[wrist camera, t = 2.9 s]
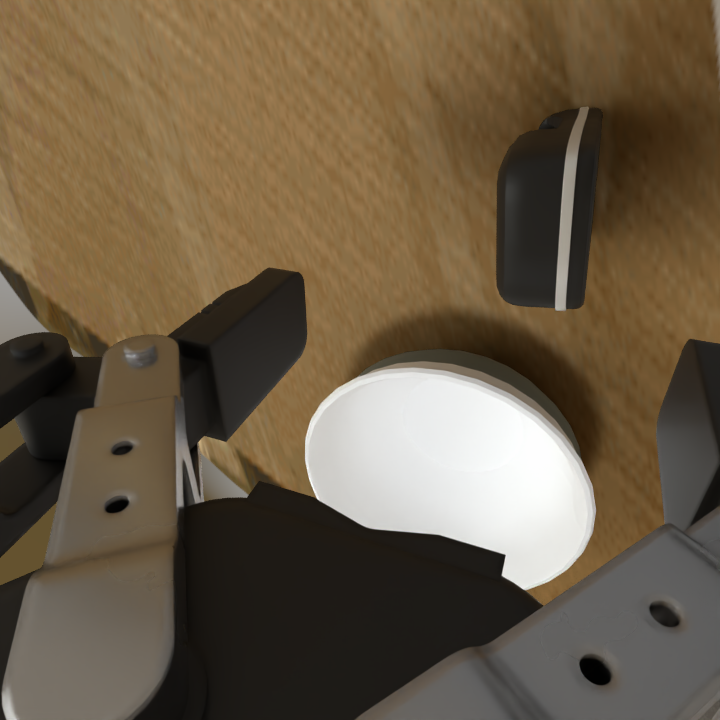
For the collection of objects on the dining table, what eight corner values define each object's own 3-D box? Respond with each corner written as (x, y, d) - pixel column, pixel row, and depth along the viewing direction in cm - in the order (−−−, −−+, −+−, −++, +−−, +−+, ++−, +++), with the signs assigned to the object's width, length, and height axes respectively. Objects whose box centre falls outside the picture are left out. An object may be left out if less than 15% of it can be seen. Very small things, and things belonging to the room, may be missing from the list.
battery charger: (526, 106, 29) (486, 154, 20) (604, 100, 28) (598, 149, 19) (522, 234, 33) (487, 322, 24) (591, 234, 32) (581, 328, 23)
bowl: (343, 288, 39) (290, 345, 33) (628, 330, 34) (631, 409, 27) (351, 478, 50) (312, 550, 43) (571, 536, 44) (564, 629, 37)
